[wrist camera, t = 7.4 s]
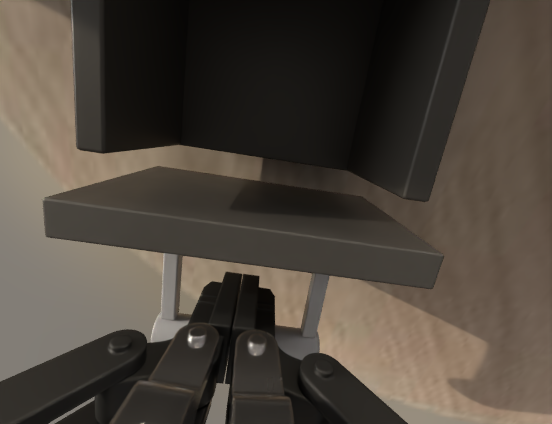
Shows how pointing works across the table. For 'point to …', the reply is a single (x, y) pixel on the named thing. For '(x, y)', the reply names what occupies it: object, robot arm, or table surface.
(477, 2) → the drawer
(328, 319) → the table surface
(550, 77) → the table surface
